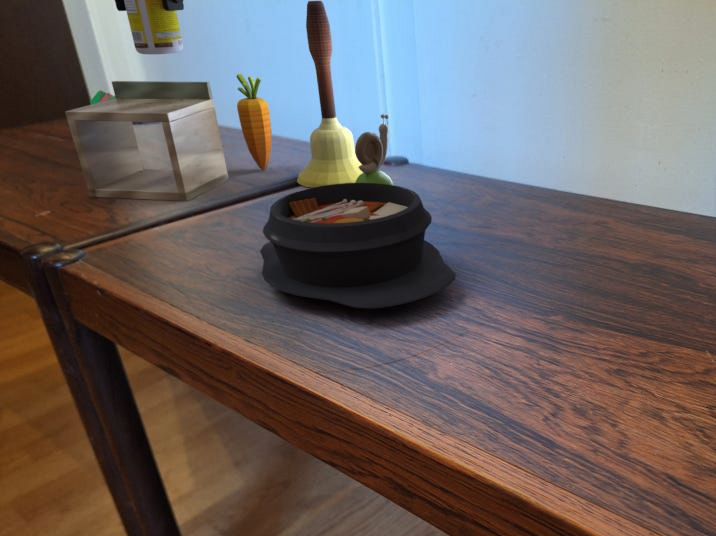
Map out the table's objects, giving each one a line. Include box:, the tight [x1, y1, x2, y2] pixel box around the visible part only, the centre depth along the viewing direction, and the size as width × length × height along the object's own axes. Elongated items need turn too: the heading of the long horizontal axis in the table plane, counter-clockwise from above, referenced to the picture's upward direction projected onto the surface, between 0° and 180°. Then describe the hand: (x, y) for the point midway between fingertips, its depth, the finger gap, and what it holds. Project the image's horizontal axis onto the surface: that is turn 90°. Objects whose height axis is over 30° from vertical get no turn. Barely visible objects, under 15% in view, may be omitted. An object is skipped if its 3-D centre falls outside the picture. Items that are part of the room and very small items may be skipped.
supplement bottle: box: [124, 0, 184, 55], centre depth 84 cm, size 6×6×10 cm
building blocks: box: [90, 89, 144, 124], centre depth 155 cm, size 8×8×12 cm
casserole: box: [259, 183, 457, 310], centre depth 72 cm, size 25×19×8 cm
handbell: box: [296, 0, 363, 188], centre depth 105 cm, size 12×12×25 cm
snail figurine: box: [354, 113, 395, 186], centre depth 93 cm, size 5×6×12 cm
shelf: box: [64, 80, 229, 202], centre depth 104 cm, size 16×12×15 cm
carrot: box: [236, 73, 272, 172], centre depth 112 cm, size 5×5×15 cm
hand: (150, 8), depth 84 cm, fingers closed on supplement bottle, 5 cm apart
